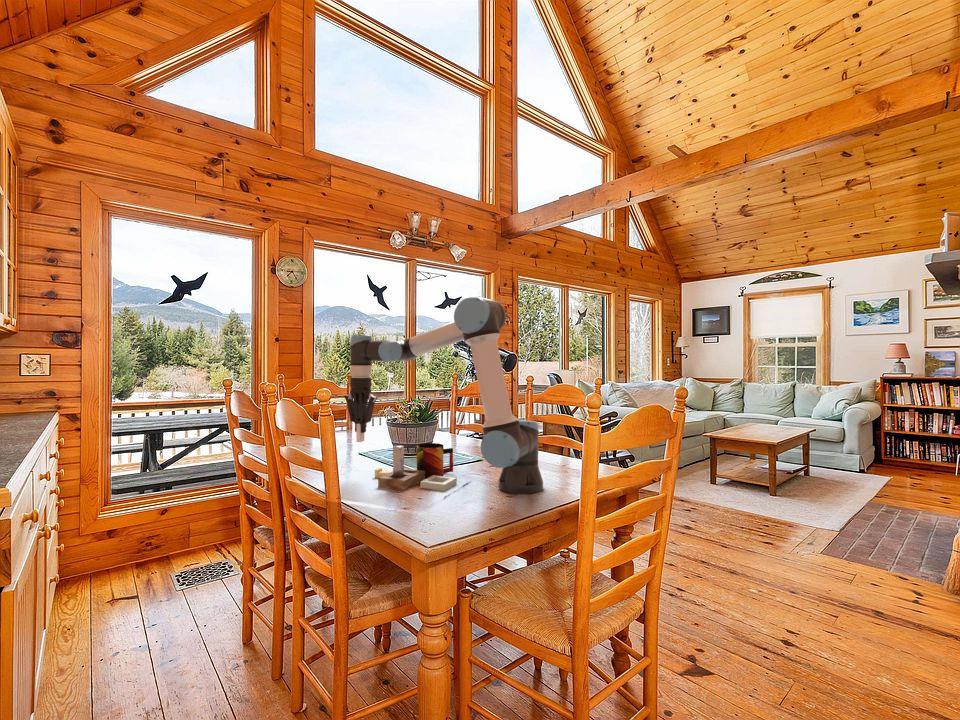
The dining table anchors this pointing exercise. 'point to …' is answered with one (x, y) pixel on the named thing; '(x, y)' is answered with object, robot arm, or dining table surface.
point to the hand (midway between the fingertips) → (360, 441)
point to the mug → (433, 459)
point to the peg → (398, 461)
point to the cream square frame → (438, 482)
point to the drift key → (380, 472)
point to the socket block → (401, 479)
